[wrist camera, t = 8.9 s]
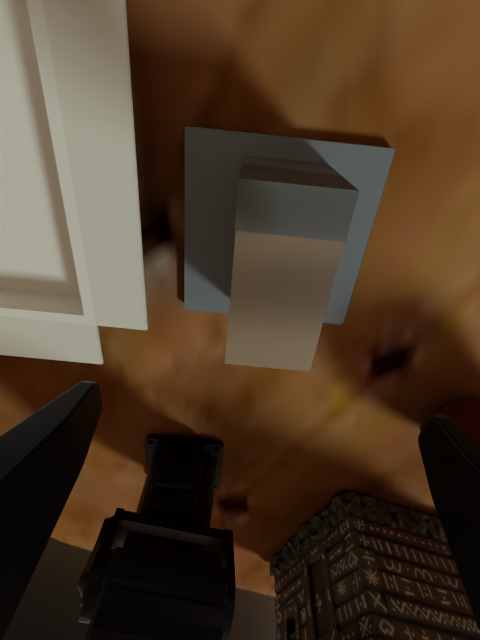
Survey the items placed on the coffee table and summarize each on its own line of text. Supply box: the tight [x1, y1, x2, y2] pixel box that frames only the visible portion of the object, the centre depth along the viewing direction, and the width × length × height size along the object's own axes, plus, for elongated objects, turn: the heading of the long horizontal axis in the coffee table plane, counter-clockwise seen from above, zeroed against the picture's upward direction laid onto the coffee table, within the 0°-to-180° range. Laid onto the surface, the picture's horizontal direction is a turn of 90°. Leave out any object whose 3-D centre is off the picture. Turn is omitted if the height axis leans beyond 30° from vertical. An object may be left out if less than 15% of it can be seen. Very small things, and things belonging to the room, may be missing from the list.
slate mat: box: [184, 126, 395, 325], centre depth 19 cm, size 10×10×1 cm
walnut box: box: [225, 155, 359, 372], centre depth 16 cm, size 8×4×6 cm, turn 175°
